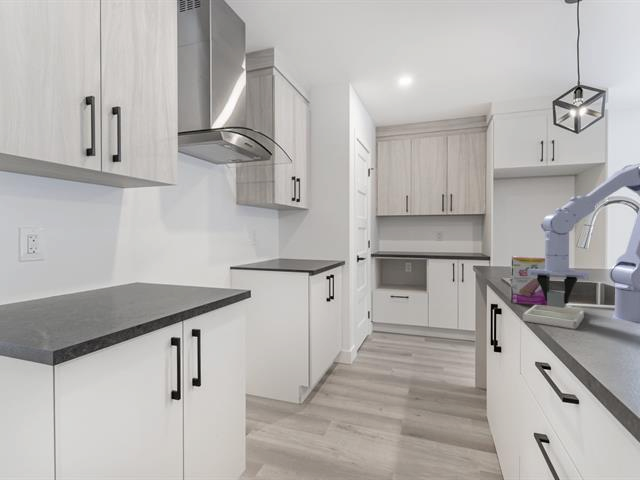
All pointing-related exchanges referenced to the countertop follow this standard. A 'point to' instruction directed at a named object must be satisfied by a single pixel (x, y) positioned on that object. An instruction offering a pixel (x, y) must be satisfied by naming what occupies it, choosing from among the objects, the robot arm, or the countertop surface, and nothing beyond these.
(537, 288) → the candy bar box
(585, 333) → the countertop surface
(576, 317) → the two-bin tray
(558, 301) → the slate block
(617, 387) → the countertop surface
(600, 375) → the countertop surface
